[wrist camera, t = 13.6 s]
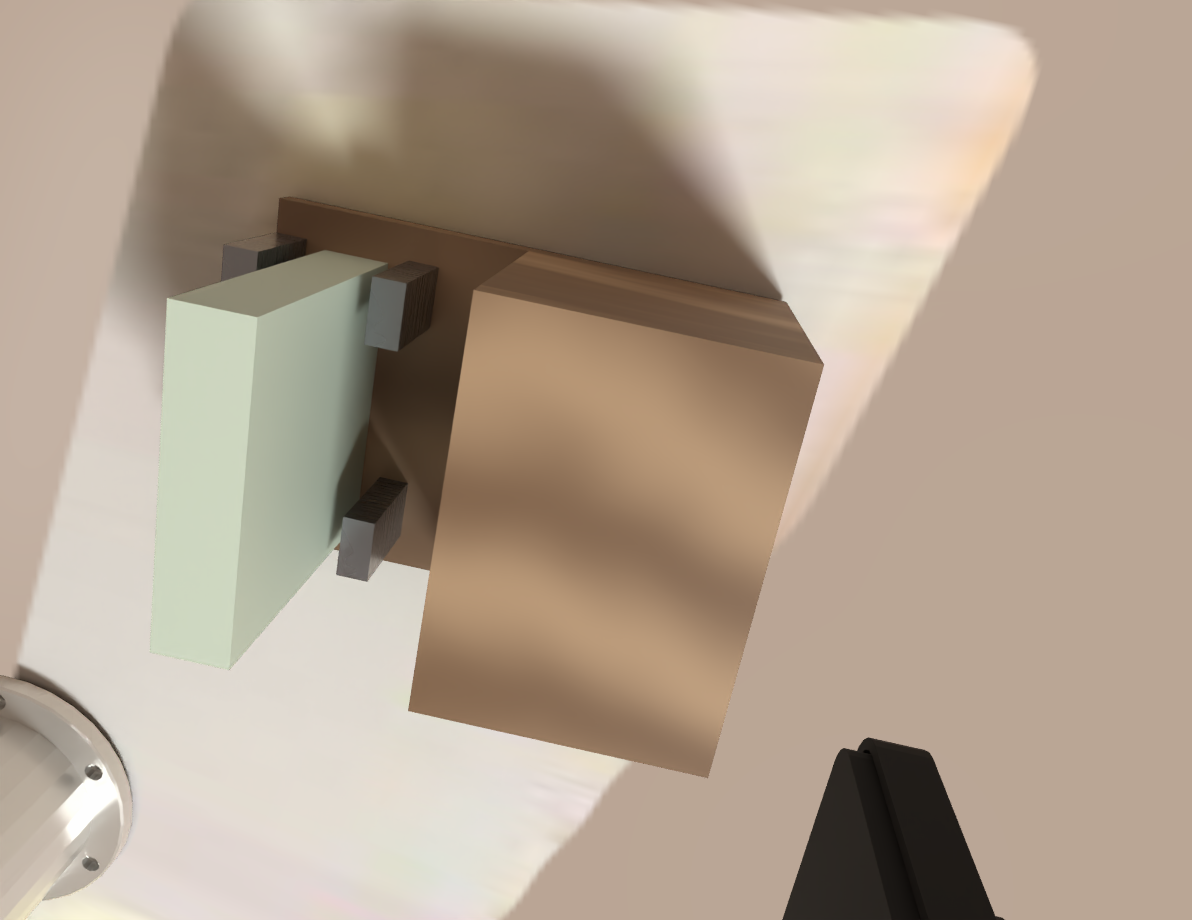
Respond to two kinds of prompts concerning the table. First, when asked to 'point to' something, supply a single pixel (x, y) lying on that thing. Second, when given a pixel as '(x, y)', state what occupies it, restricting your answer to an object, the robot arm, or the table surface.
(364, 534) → the hinge clips
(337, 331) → the door
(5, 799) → the robot arm
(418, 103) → the table surface
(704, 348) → the cabinet
